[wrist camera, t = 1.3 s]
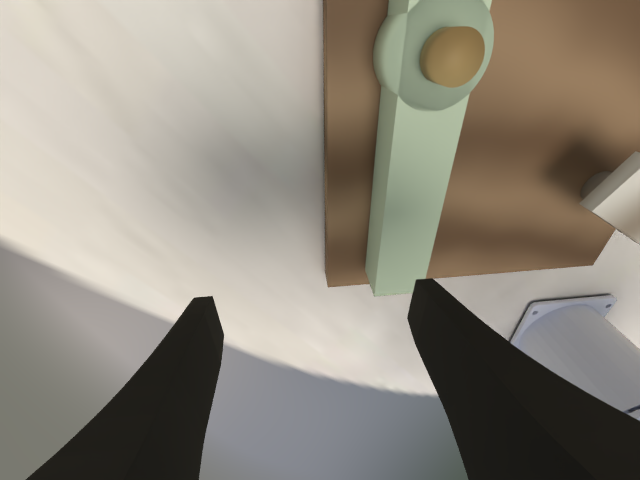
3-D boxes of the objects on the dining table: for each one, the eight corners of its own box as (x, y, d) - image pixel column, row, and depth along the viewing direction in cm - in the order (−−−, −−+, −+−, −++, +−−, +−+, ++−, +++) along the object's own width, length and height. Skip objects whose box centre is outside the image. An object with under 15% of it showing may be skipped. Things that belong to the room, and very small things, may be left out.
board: (576, 253, 24) (646, 305, 20) (325, 273, 23) (336, 335, 18) (759, -63, 14) (993, -108, 9) (322, -64, 12) (346, -119, 8)
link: (377, -6, 12) (396, -13, 10) (472, -7, 13) (509, -14, 11) (357, 270, 21) (366, 297, 19) (415, 265, 21) (430, 291, 19)
